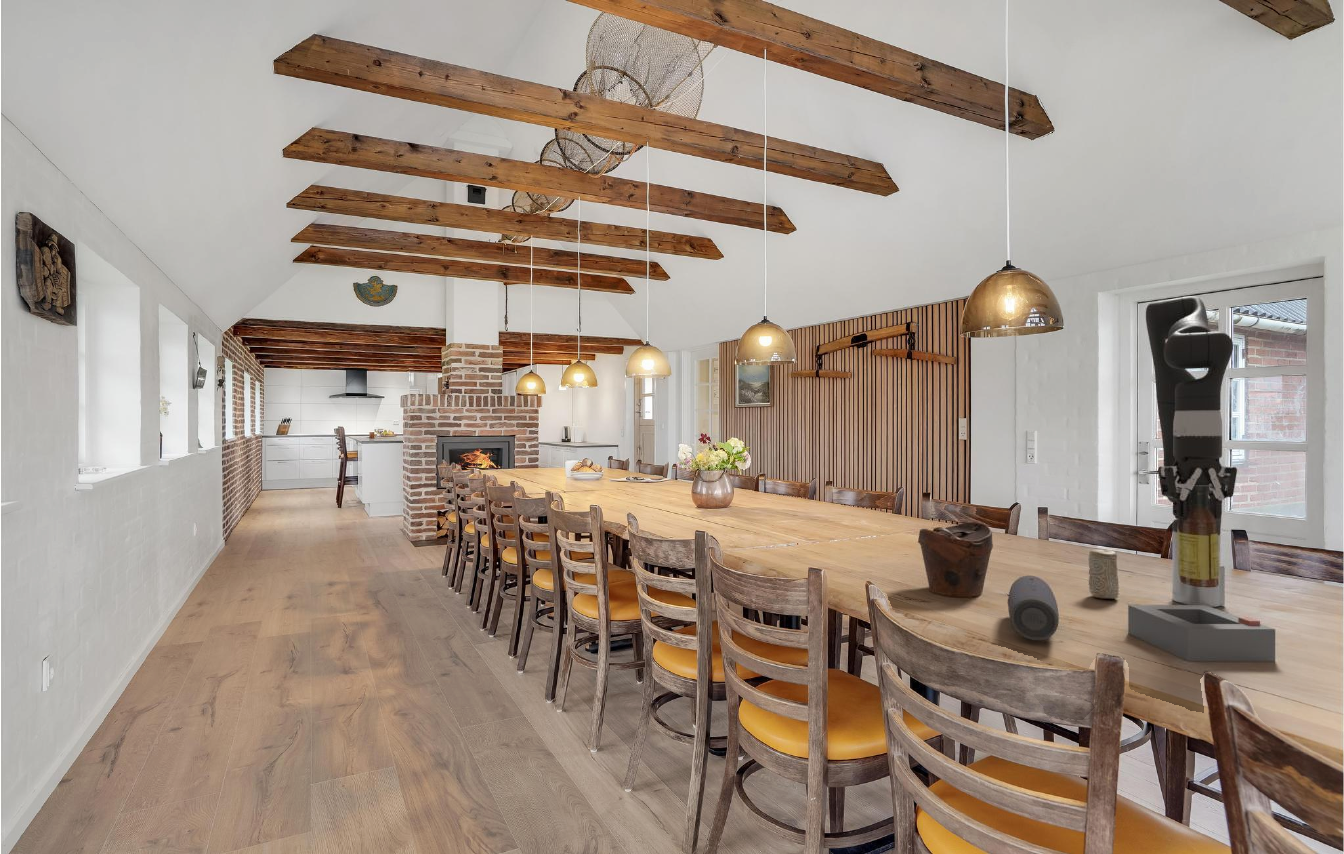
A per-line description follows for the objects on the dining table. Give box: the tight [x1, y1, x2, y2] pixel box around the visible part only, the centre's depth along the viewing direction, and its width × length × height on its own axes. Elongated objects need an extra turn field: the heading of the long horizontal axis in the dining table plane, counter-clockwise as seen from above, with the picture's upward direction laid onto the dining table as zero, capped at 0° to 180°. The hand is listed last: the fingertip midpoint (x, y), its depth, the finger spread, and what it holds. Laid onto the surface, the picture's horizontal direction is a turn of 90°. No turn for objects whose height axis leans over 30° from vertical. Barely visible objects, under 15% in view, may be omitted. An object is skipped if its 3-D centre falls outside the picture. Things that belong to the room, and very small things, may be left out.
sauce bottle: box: [1177, 485, 1219, 588], centre depth 128 cm, size 7×6×20 cm
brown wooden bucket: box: [917, 521, 994, 598], centre depth 170 cm, size 18×20×18 cm
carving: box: [1088, 548, 1120, 600], centre depth 164 cm, size 6×8×12 cm
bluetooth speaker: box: [1007, 575, 1060, 641], centre depth 138 cm, size 23×9×10 cm, turn 152°
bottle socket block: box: [1127, 604, 1276, 663], centre depth 128 cm, size 16×16×7 cm
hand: (1196, 518), depth 128 cm, fingers closed on sauce bottle, 6 cm apart
